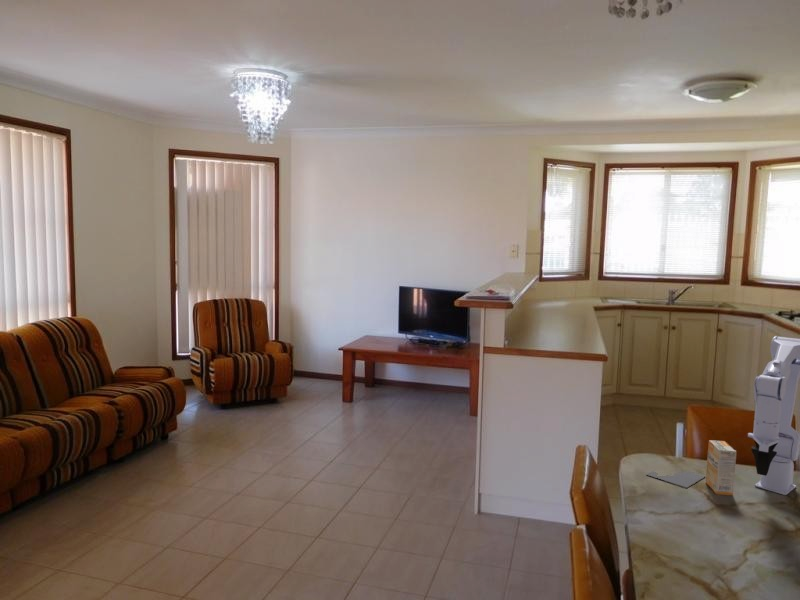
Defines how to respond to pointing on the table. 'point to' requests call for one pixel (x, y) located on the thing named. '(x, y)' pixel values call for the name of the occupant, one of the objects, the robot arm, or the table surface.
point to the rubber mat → (679, 478)
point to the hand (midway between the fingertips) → (762, 469)
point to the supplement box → (721, 467)
